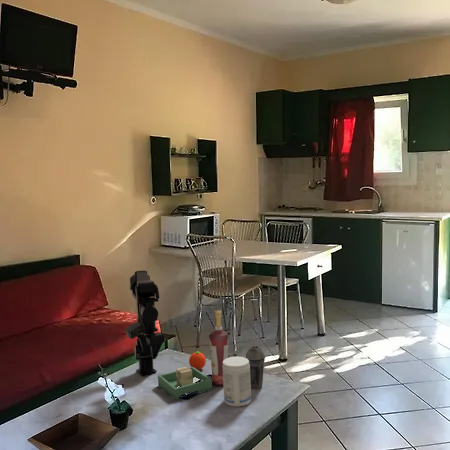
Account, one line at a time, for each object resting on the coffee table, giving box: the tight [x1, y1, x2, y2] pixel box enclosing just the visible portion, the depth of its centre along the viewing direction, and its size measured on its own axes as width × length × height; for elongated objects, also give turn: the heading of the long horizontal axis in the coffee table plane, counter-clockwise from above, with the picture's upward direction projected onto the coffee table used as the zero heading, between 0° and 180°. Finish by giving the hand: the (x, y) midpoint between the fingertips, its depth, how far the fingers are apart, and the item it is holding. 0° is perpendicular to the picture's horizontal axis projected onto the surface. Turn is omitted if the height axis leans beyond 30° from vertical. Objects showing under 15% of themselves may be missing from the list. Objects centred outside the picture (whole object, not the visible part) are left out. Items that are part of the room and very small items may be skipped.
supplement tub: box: [222, 356, 252, 408], centre depth 179 cm, size 10×10×15 cm
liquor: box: [208, 310, 229, 386], centre depth 195 cm, size 7×7×28 cm
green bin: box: [157, 366, 213, 401], centre depth 193 cm, size 15×15×4 cm
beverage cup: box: [245, 335, 266, 391], centre depth 190 cm, size 7×7×20 cm
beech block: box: [175, 366, 193, 387], centre depth 193 cm, size 4×4×6 cm
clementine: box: [188, 350, 207, 371], centre depth 211 cm, size 8×7×7 cm
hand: (149, 355), depth 194 cm, fingers open, 9 cm apart
